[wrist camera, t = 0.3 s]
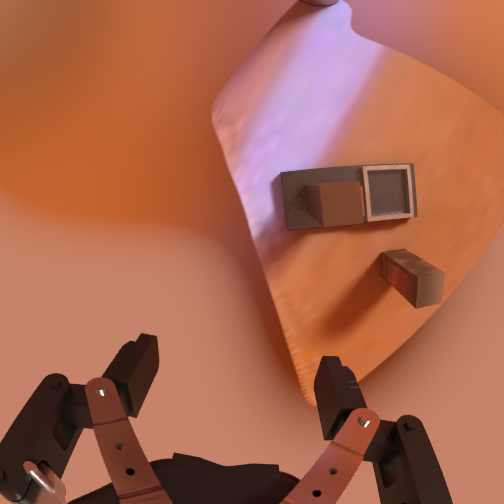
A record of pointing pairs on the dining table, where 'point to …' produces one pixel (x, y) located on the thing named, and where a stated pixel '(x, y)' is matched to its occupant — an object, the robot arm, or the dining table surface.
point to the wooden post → (413, 277)
